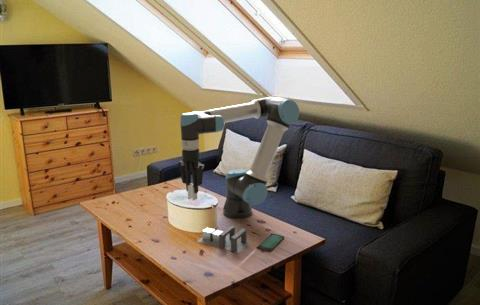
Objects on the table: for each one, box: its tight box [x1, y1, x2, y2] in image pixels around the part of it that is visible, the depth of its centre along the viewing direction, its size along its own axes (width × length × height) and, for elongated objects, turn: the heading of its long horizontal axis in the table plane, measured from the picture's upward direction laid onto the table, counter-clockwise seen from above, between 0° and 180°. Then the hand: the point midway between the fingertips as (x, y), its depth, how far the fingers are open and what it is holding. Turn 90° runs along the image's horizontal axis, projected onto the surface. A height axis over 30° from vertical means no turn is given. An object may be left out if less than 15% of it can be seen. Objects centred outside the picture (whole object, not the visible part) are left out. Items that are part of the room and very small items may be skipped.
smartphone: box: [256, 232, 285, 253], centre depth 176 cm, size 7×1×15 cm
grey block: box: [201, 227, 227, 243], centre depth 177 cm, size 10×4×4 cm, turn 60°
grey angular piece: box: [196, 225, 251, 254], centre depth 174 cm, size 10×22×7 cm, turn 60°
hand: (192, 198), depth 178 cm, fingers open, 2 cm apart
